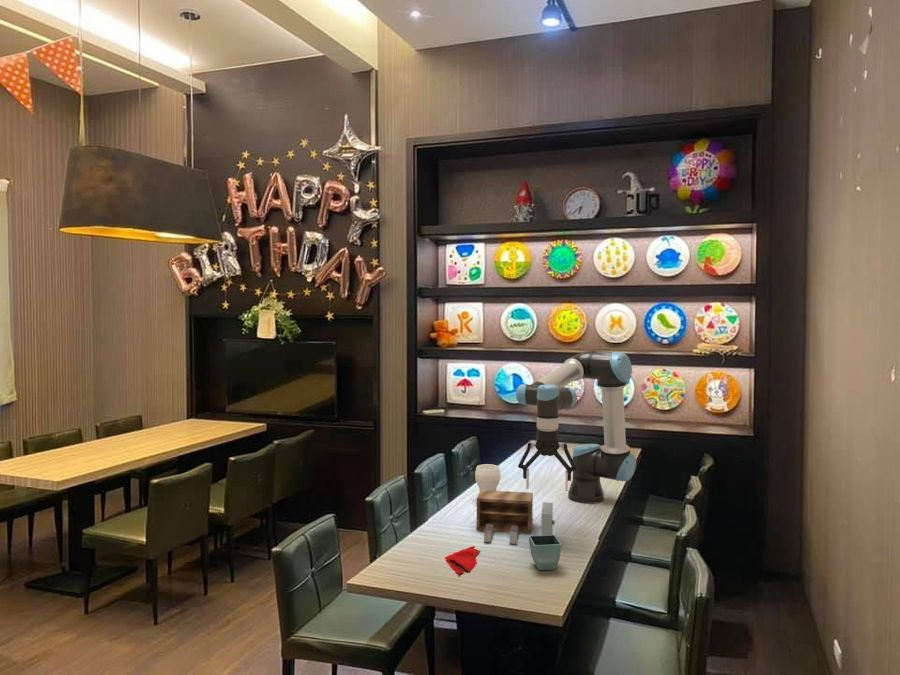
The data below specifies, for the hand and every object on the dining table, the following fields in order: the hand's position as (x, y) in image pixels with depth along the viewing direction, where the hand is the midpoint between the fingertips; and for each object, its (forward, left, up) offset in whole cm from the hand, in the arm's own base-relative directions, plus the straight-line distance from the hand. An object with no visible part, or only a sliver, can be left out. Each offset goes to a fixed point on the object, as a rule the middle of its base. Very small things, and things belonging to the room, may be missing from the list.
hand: (546, 488), depth 232 cm
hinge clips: (+16, -1, -19) cm, 25 cm away
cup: (+26, -41, -19) cm, 52 cm away
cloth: (+26, +22, -20) cm, 39 cm away
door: (0, 0, -19) cm, 19 cm away
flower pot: (0, +23, -19) cm, 30 cm away
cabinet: (+16, -12, -19) cm, 27 cm away
